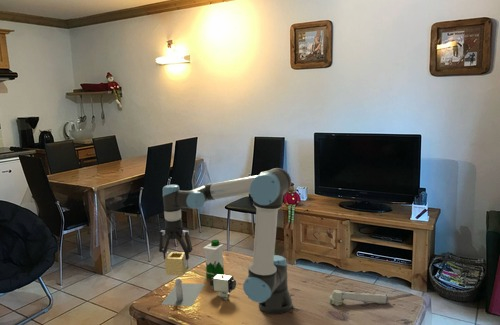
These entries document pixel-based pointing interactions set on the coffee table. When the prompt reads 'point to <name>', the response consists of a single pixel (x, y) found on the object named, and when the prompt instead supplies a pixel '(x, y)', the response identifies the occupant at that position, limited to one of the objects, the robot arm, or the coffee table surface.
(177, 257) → the collar
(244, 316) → the coffee table surface
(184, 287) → the post plate
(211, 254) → the milk carton
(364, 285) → the coffee table surface
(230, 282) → the pneumatic valve
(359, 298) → the beige knobbed bar
